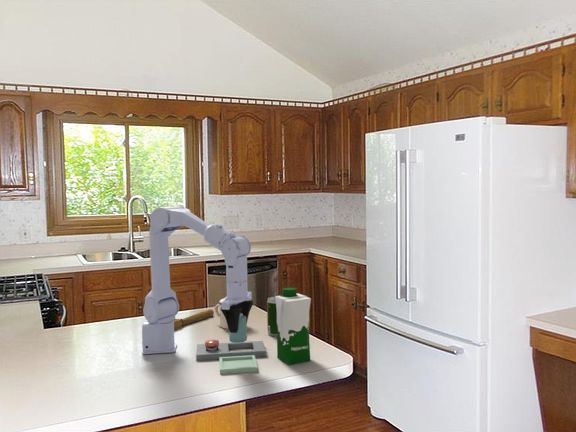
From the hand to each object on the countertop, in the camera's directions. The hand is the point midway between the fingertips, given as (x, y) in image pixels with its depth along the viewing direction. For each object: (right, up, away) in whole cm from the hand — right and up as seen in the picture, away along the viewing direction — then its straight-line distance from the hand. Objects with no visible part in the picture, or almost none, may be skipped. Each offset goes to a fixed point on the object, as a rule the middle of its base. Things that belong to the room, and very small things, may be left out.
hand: (237, 329), depth 143 cm
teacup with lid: (-7, -8, +42) cm, 43 cm away
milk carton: (+15, -10, +5) cm, 19 cm away
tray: (0, -10, 0) cm, 10 cm away
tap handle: (-23, -8, +43) cm, 50 cm away
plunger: (-9, -9, +10) cm, 16 cm away
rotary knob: (0, -3, 0) cm, 3 cm away
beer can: (+10, -8, +30) cm, 33 cm away
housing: (-3, -9, +11) cm, 15 cm away
